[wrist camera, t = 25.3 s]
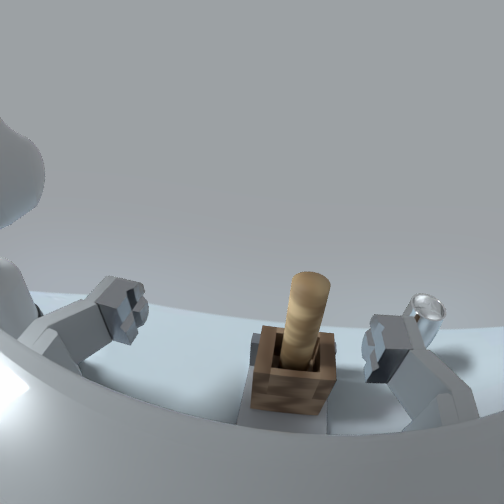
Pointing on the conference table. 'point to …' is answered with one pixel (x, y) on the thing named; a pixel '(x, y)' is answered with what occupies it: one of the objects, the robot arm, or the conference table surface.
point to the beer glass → (426, 315)
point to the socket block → (292, 376)
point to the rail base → (276, 419)
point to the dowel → (303, 319)
